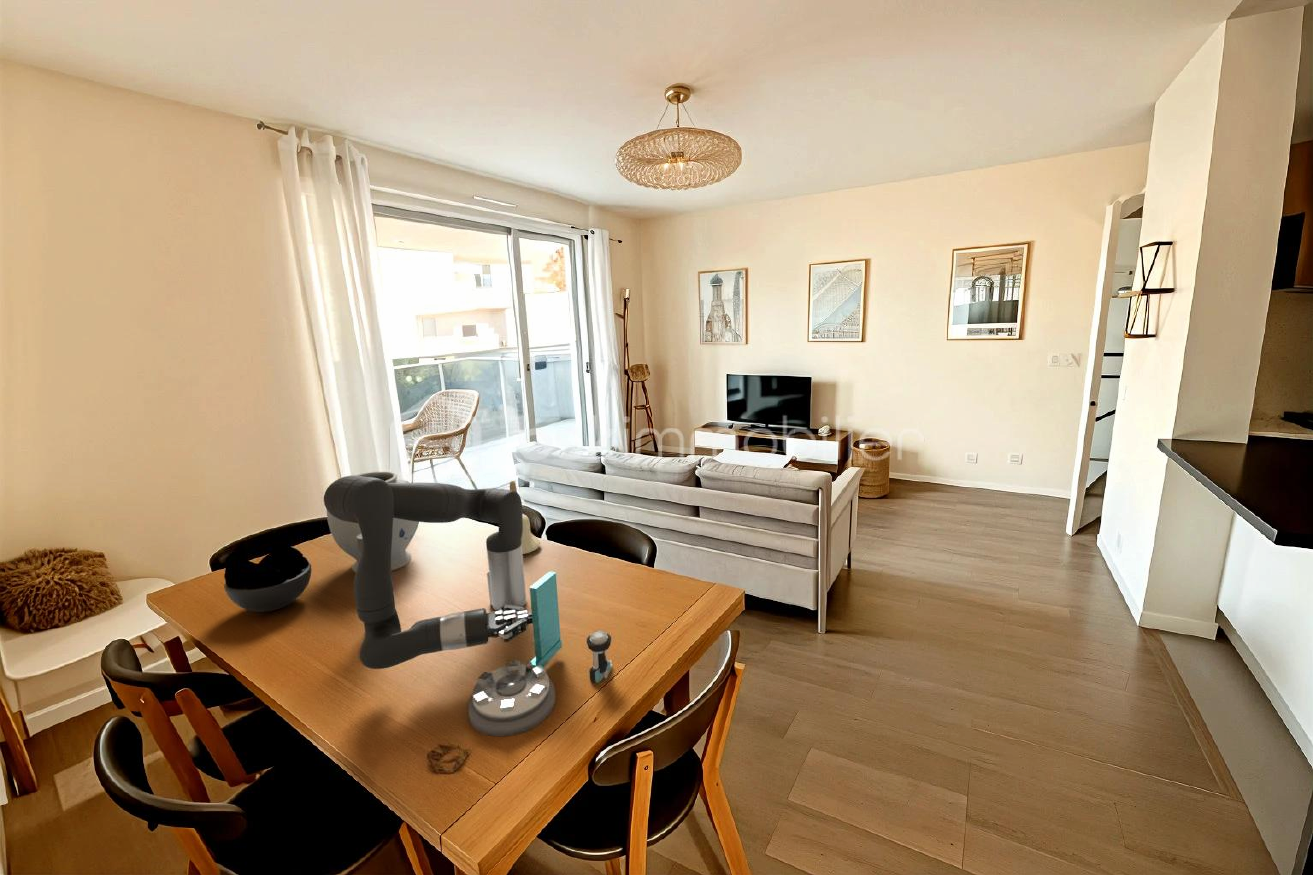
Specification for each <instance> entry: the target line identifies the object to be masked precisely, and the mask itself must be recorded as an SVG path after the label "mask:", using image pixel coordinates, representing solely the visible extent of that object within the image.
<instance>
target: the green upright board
mask: <svg viewBox="0 0 1313 875" xmlns="http://www.w3.org/2000/svg"><path fill="white" fill-rule="evenodd" d="M557 584H558V583H557V573H556V572H554V571H548V572H547V573H546V574H545V575H543V576H542V577H541V578H540V579H538V580H537V581H536V582H535V583H533V584H532V585H531V586H530V587H529V596H530V607H531V608H530V609H531V611H532V622H533V623H532V630H533V631H532V632H533V640H534V641H533V643H534V644H533V646H534V657H533V658H532V660H531V661H530V660H528V661H526V662H525V663H521V662H520V659H515V660H509V661H508V665H504V666H502V667H501V666H500V667H498V668H496V669H493V670H492V671H490V672H487V671H484V672H483V673H482V674H481V675H479V676H478V678H477V682H476V684H475V685H474V687H473V690H472V694H471V696H472V698H473V707H474V710H475V712H476V713H477V714H478V715H479V716H480V717H482V718H483V719H486V720H489V721H494V722H507V721H513V720H517V719H520V718H523V717H525V716H527V715H529V714H531V713H533V712H534V711H536V710H537V709H539V708H540V707H541V706H542V705H543V704H544V702H545V701H546V700H547V698H548V695H549V691H550V689H549V679H550V677H549V675H548V673H547V669H546V668H545V666H546V665H547V664H548V663H549V662H550V661H551V660H552V658H554V656H556V654H557V653H558V652H559V651H560V650H561V649H562V647H563V643H562V642H563V640H562V639H561V628H560V627H561V624H560V610H559V598H558V585H557Z"/></svg>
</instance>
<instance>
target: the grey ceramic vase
mask: <svg viewBox="0 0 1313 875" xmlns="http://www.w3.org/2000/svg"><path fill="white" fill-rule="evenodd" d="M356 476H364V477H373V478H378V479H382V480H384V481H385V482H387V483H411V482H410V481H408V480H405V479H401V478H398V475H397V473H395V472H393V471H370V472H365V473H360V474H356ZM326 518H327V523H328V527H329V531H330V533H331V536H332V538H333V540H334V542H335V543H336V545H337V546H338V547H339V548H340V549H341V550H342V551H343V552H345V553H346V554H347V555H349V556H350V557H352V558H353V559H354V560H356V561H355V562H353V564H352V568H351V569H352V571H353V573H355V574H356V571H357V568H358V565H359V562H360V559H361V556H362V553H361V552H360V550H359V549H358V542H357V536H358V535H359V534H361V531H360V527H359V524H358V523H353V522H347V521H343V520H340V519H338V518H336V517H334V516H333V515H331V514H330V513H329V512H328V510H327V509H326ZM419 524H420V522H416V521H409V520H404V519H398V518H393V531H392V550H391V572H392V571H395V570H398V569H401V568H403V567H405V566H406V565H407V564H409V563H410V562H411V561H412V557H413V556H412V554H411V553H410V552H409V551H407V548H408V547H409V545H410V543H411V542H412V540H413V537H414V536H415V535H416V532H417V530H418V528H419Z"/></svg>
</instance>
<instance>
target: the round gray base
mask: <svg viewBox="0 0 1313 875" xmlns="http://www.w3.org/2000/svg"><path fill="white" fill-rule="evenodd" d="M549 689H550V691H549V695H548V698H547V700H546V701H545V702H544V704H543V705H542V706H541V707H540V708H539V709H537V710H536V711H534V712H533V713H531V714H529V715H527V716H525V717H523V718H520V719H517V720H513V721H507V722H494V721H489V720H486V719H483V718H482V717H480V716H479V715H478V714H477V713H476V712H475V710H474V707H473V698H472V695H471V696H470V697H469V700H468V705H467V709H468V717H469V722H470V724H471V727H473V728H474V729H475V730H476V731H478V732H479V733H480V734H484V735H486V736H491V737H508V736H515V735H518V734H521V733H525V732H527V731H529V730H532V729H533V728H535V727H537V726H538V725H540V724H541V723H542V722H543V721H544V720H545V719H546V718H548V716H549V715H550V714H551V713H552V711H553V709H554V707H555V703H556V692H555V691H556V690H555V685H554V682H553V681H552V680H551V679H550V678H549Z"/></svg>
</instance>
